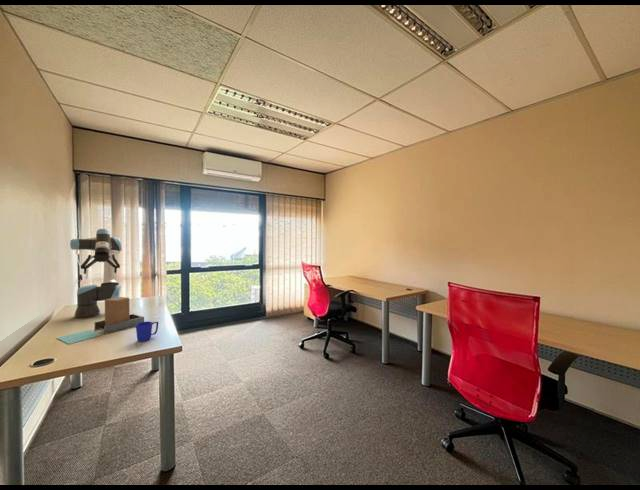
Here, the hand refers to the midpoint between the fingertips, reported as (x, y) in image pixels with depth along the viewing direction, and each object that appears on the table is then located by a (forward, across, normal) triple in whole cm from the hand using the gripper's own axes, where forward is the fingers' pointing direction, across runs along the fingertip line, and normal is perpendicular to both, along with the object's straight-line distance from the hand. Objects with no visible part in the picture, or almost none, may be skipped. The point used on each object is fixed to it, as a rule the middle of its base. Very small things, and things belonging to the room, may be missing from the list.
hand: (100, 277), depth 172 cm
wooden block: (+30, +10, +18) cm, 36 cm away
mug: (+48, +25, -13) cm, 56 cm away
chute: (+30, +11, +18) cm, 36 cm away
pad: (+34, -8, +11) cm, 37 cm away
